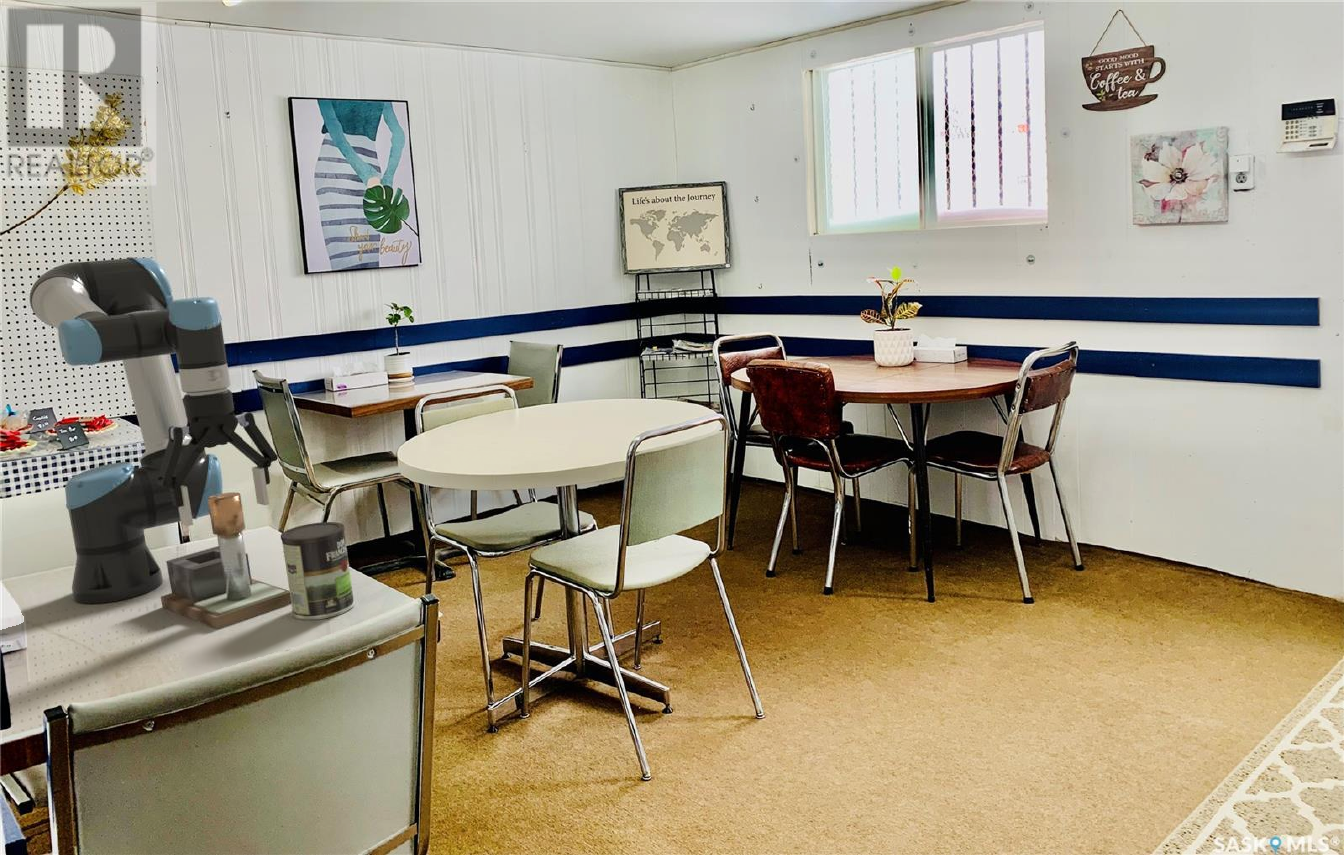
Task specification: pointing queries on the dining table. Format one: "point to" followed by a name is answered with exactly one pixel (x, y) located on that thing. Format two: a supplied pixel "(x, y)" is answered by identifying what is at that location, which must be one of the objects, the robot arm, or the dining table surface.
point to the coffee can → (318, 570)
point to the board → (227, 617)
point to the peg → (231, 543)
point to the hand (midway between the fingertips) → (226, 514)
